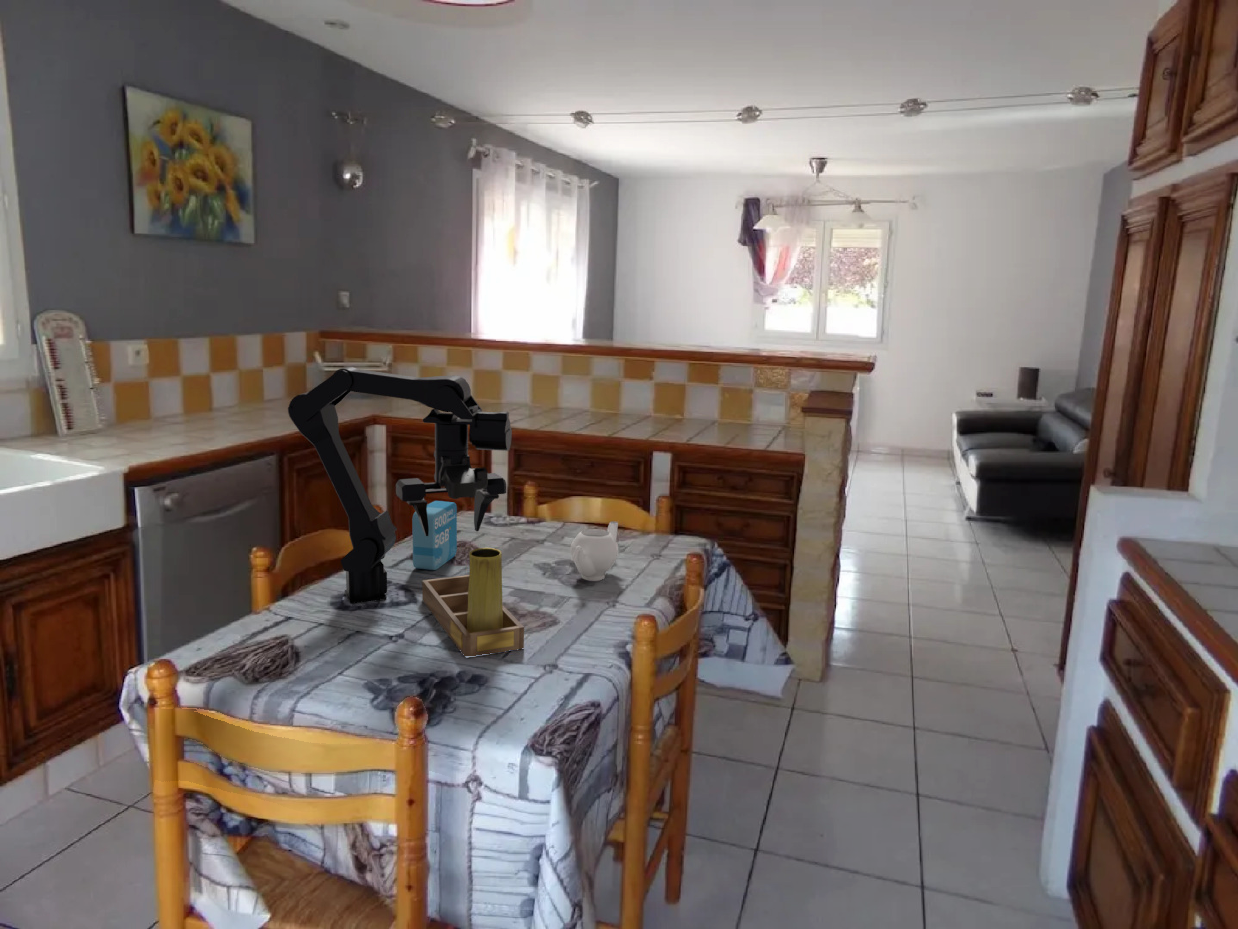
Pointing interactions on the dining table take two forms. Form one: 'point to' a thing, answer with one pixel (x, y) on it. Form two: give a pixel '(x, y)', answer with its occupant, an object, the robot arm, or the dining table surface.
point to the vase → (485, 590)
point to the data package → (435, 536)
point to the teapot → (595, 551)
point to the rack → (451, 612)
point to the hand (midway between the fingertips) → (451, 533)
